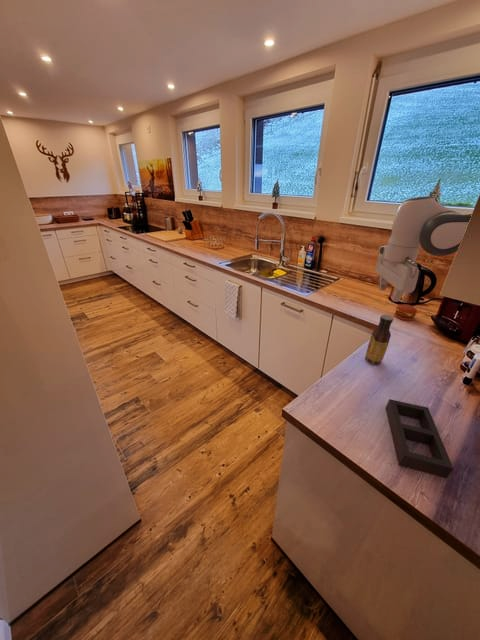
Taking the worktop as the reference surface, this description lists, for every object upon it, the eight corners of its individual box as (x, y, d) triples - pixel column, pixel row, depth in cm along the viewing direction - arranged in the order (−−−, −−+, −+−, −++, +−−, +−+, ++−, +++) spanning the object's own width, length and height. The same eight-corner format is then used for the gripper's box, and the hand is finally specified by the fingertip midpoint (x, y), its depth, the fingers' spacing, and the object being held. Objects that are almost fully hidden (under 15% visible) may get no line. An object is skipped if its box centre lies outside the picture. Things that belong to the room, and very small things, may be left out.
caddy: (423, 416, 80) (428, 407, 78) (446, 478, 64) (453, 468, 62) (385, 408, 83) (389, 398, 81) (398, 465, 66) (404, 455, 64)
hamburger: (408, 323, 133) (413, 311, 130) (390, 315, 140) (394, 304, 136) (417, 318, 138) (422, 307, 134) (399, 311, 144) (403, 300, 141)
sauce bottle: (368, 354, 108) (383, 311, 98) (384, 361, 104) (400, 317, 94) (360, 360, 104) (374, 316, 95) (376, 368, 100) (392, 322, 90)
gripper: (430, 263, 72) (413, 308, 79) (396, 246, 90) (384, 284, 97) (406, 263, 72) (392, 308, 79) (377, 246, 90) (367, 284, 97)
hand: (388, 294), depth 88 cm, fingers open, 8 cm apart
